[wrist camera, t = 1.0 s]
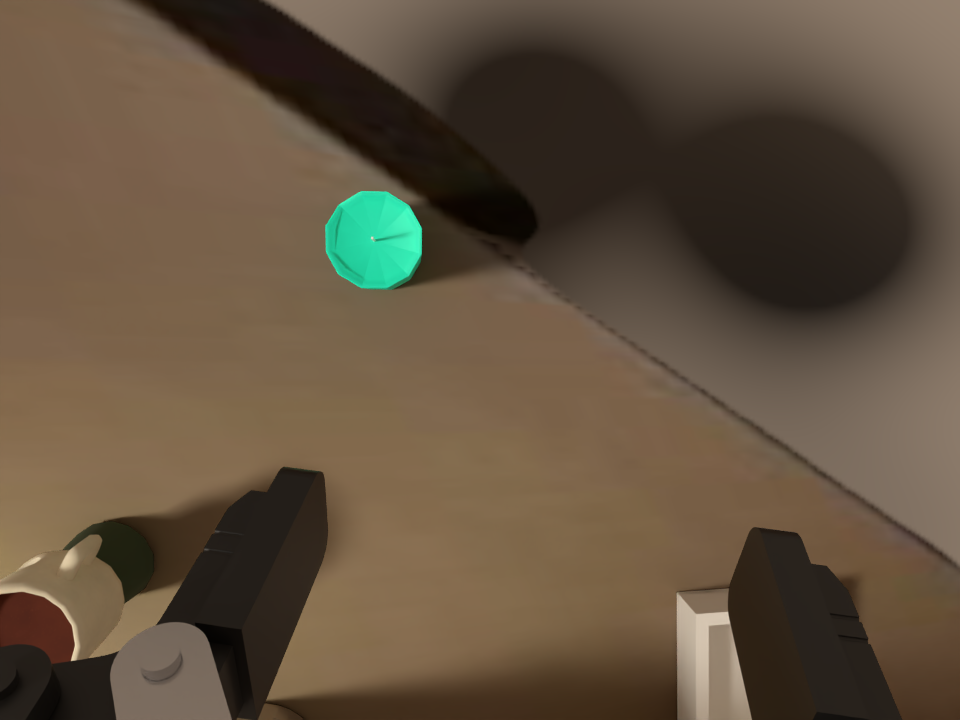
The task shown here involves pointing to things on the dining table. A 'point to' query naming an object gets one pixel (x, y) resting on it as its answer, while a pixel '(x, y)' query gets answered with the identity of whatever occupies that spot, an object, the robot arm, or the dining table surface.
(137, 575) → the character mug
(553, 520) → the dining table surface
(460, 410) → the dining table surface
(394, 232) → the candle
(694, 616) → the tray
